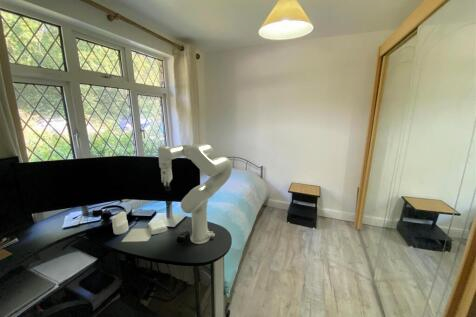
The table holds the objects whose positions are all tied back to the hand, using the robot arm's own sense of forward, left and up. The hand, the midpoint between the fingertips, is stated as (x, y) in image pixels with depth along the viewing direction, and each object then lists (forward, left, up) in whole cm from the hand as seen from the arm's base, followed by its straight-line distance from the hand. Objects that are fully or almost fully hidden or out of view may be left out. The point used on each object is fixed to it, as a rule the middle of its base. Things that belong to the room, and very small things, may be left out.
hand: (167, 190), depth 134 cm
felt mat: (+18, +9, -27) cm, 34 cm away
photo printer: (+5, +8, -25) cm, 27 cm away
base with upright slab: (+33, +3, -28) cm, 43 cm away
